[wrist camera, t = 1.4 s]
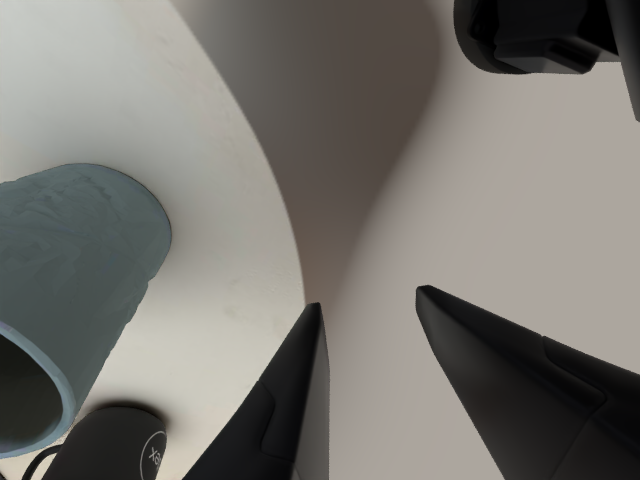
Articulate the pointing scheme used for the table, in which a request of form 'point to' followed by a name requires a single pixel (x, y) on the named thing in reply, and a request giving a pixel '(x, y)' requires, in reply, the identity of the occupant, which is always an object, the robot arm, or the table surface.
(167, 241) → the blue cup
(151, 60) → the table surface
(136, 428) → the mug
